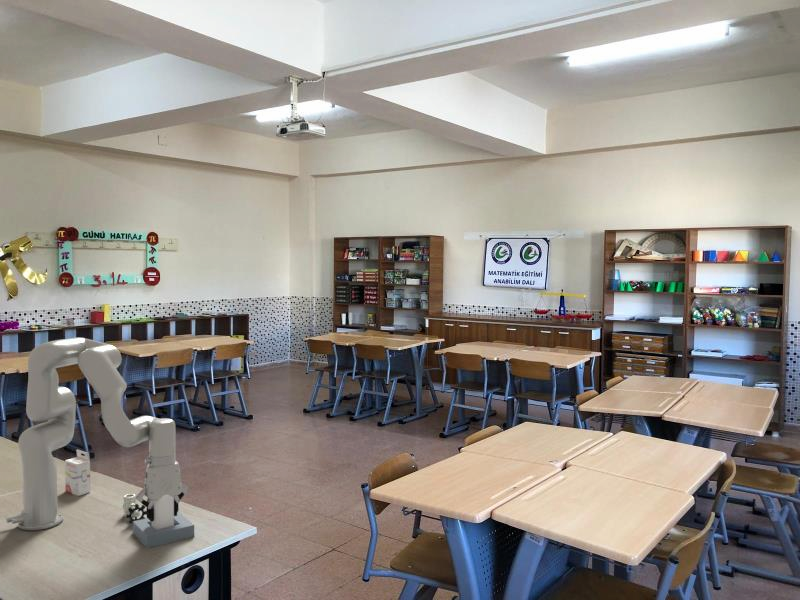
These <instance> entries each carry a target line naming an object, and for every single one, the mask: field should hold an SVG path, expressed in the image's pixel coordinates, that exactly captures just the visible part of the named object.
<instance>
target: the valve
mask: <svg viewBox="0 0 800 600" xmlns="http://www.w3.org/2000/svg"><path fill="white" fill-rule="evenodd" d="M136 496H137V494H135V493H127V494H125V495H123V503H122V508H123V516H124V517H125V518H126V519H128V521H127V522H128V524H130V525H133V521H137V520H141V519H146V517H145V515H146V516H147V509H146V510H145V508H146V506H144V505H143V504H142V505H141V507H140V505H139V503H138V502H137V501H136V500H137V499H136ZM144 510H145V511H144ZM140 512H141V513H140ZM140 514H141V515H140ZM139 516H140V517H139Z"/></svg>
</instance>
